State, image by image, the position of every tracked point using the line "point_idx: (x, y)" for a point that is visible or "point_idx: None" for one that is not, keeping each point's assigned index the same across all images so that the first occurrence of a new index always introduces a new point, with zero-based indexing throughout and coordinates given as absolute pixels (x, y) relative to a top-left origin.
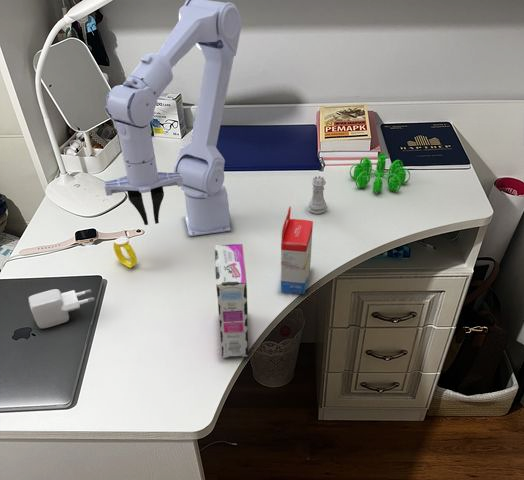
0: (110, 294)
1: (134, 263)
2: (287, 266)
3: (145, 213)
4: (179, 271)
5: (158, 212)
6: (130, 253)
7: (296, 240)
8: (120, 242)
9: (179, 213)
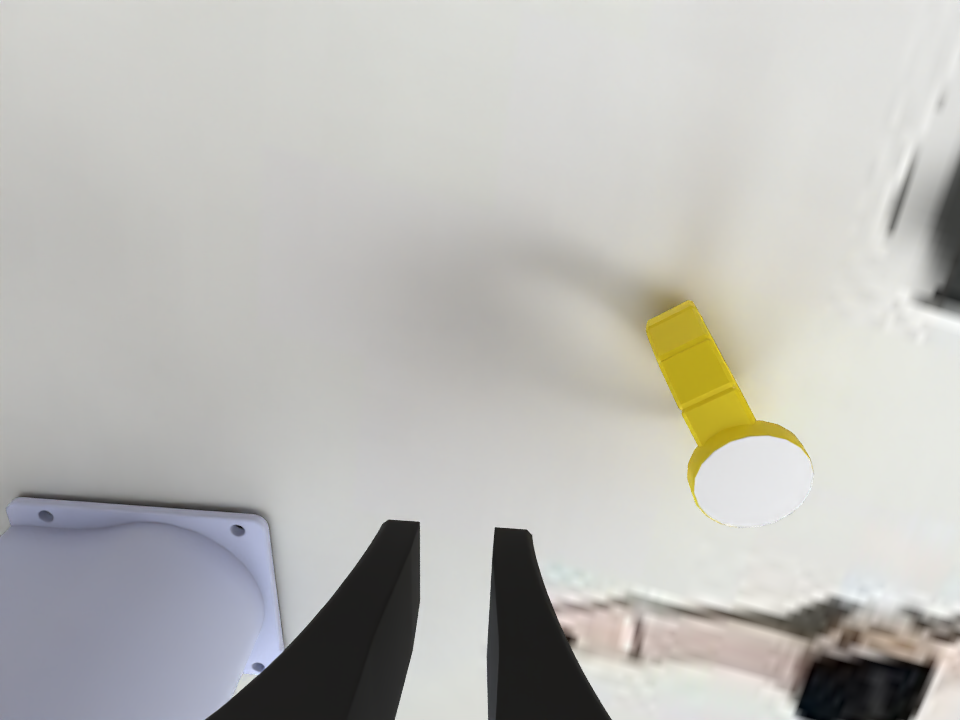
0: (923, 37)
1: (666, 312)
2: None
3: (493, 645)
4: (354, 179)
5: (326, 606)
6: (697, 354)
7: None
8: (770, 461)
9: None
